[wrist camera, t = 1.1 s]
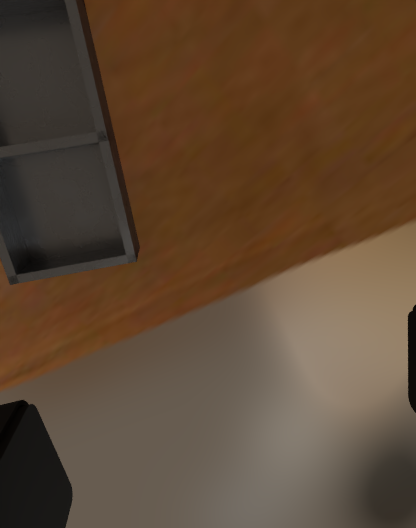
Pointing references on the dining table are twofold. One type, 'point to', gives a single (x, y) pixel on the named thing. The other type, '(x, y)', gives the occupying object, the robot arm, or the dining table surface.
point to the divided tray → (57, 148)
